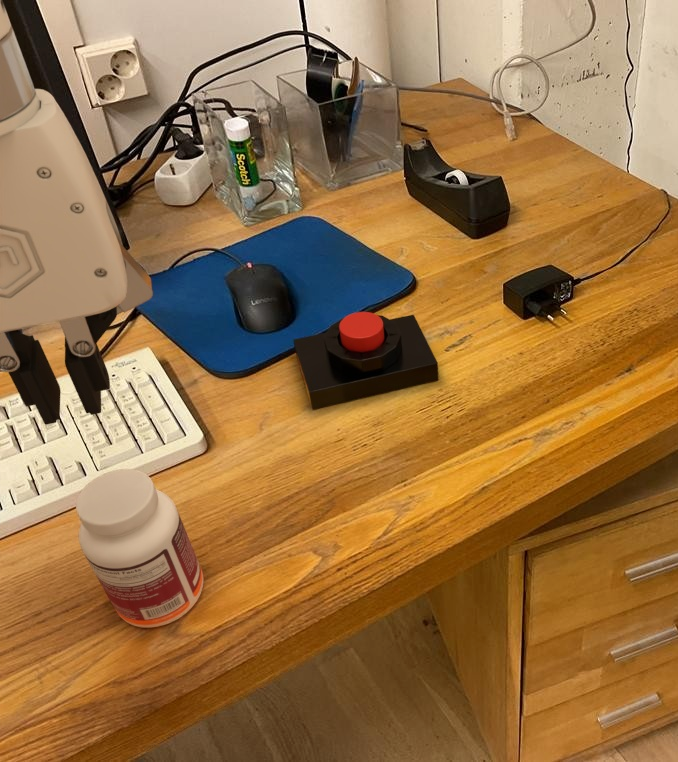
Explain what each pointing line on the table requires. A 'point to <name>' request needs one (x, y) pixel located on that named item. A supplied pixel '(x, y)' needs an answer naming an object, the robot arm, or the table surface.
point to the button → (361, 331)
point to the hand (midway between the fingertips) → (73, 401)
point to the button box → (364, 363)
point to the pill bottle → (138, 548)
